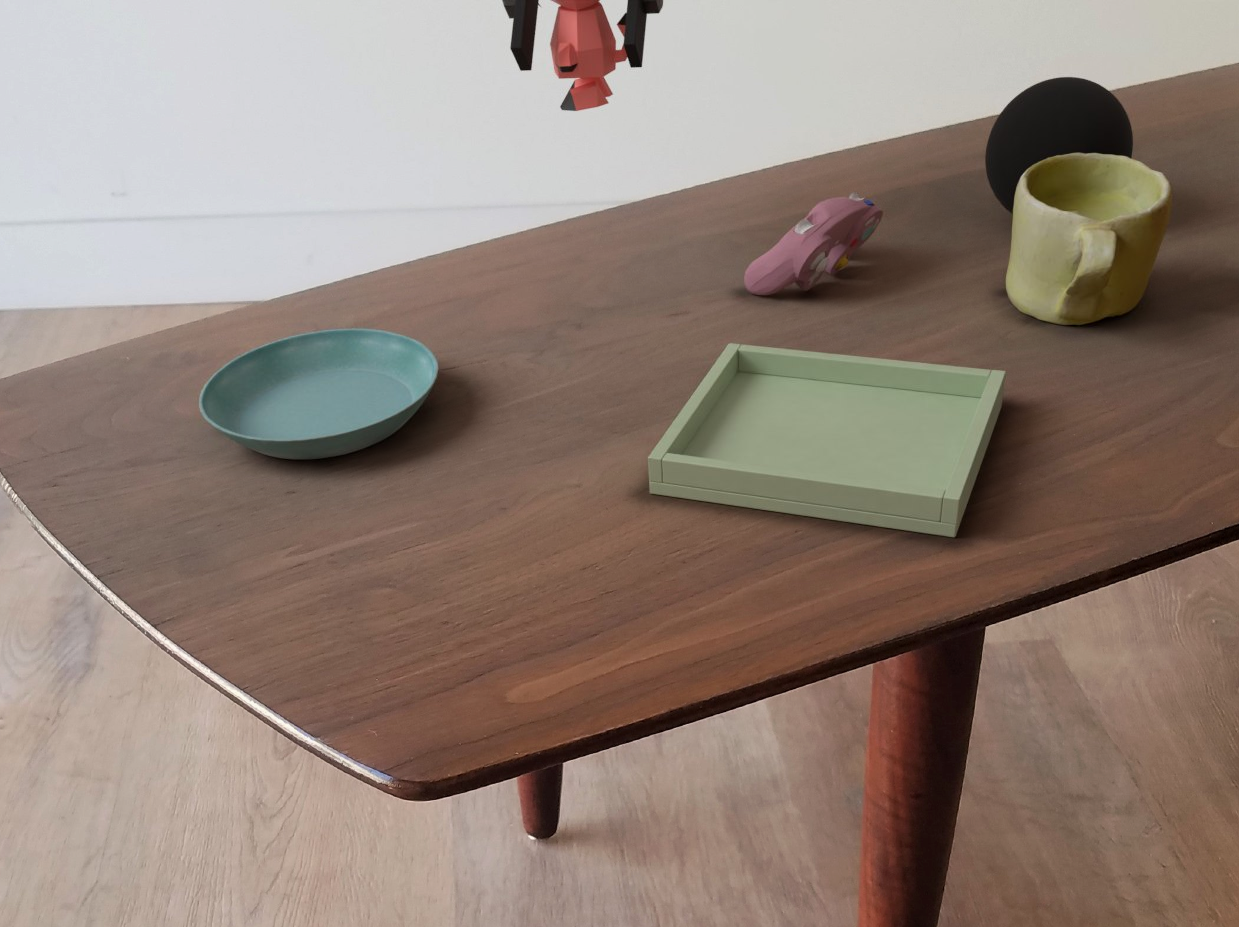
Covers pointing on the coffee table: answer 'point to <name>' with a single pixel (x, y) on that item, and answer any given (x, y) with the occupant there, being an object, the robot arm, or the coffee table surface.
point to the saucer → (320, 392)
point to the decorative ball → (1053, 130)
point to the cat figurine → (585, 52)
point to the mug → (1085, 236)
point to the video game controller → (815, 245)
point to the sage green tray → (832, 437)
